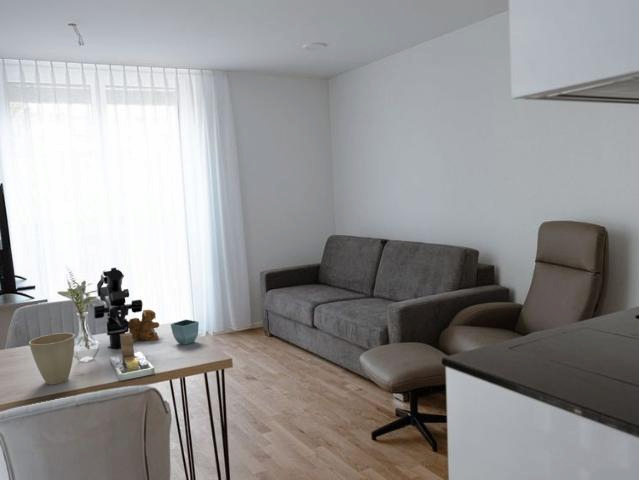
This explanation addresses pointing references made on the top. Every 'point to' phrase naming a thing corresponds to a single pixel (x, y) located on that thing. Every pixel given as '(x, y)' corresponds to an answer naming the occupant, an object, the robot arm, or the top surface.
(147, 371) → the tray
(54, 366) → the plant pot
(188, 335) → the flower pot
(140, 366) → the slot bed
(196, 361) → the top surface
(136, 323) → the stuffed squirrel
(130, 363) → the yellow small block
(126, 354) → the brown block
